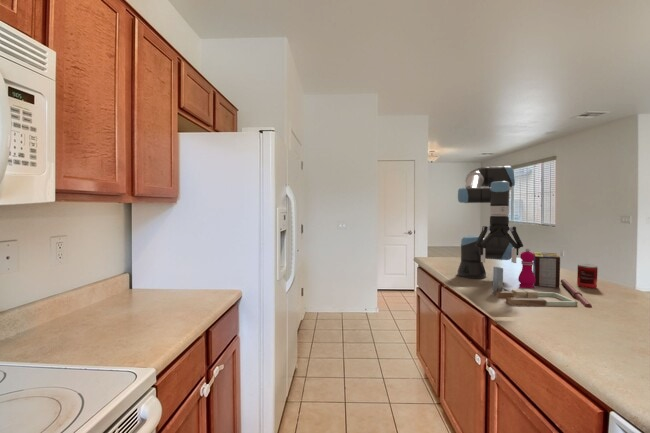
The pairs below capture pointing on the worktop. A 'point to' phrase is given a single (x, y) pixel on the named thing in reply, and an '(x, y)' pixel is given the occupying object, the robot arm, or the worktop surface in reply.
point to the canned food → (587, 276)
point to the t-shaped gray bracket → (498, 280)
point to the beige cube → (518, 293)
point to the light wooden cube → (531, 293)
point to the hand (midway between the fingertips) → (498, 262)
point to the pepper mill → (527, 270)
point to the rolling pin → (576, 293)
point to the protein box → (546, 269)
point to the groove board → (519, 299)
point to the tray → (565, 301)
